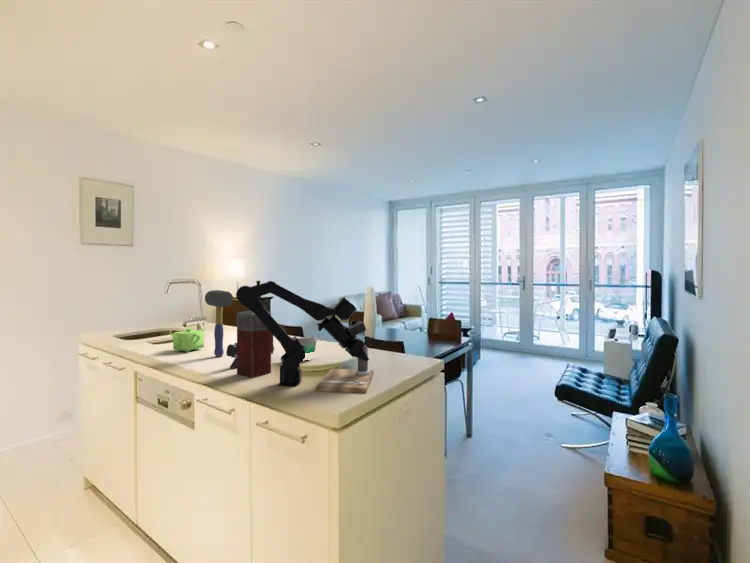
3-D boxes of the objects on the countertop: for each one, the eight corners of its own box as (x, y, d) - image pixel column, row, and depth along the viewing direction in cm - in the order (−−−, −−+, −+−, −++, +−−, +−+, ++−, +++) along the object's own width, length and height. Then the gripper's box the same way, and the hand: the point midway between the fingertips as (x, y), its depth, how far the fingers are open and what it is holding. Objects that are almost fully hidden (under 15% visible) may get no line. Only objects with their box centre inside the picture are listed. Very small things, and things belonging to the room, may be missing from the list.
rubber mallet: (234, 356, 176) (234, 290, 175) (219, 359, 169) (219, 291, 169) (218, 353, 183) (218, 289, 182) (203, 356, 177) (203, 290, 176)
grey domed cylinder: (354, 375, 141) (354, 345, 140) (356, 371, 146) (356, 342, 145) (368, 375, 140) (369, 345, 140) (370, 372, 145) (370, 343, 145)
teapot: (169, 354, 180) (169, 331, 180) (172, 349, 192) (172, 327, 192) (205, 352, 186) (205, 329, 185) (206, 346, 198) (206, 326, 198)
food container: (290, 362, 166) (290, 339, 165) (289, 359, 171) (289, 336, 171) (319, 361, 169) (319, 338, 169) (317, 358, 175) (317, 335, 175)
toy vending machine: (275, 371, 151) (276, 299, 150) (252, 377, 141) (252, 300, 141) (260, 368, 156) (260, 298, 155) (236, 374, 146) (236, 299, 146)
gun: (221, 367, 152) (226, 341, 153) (267, 368, 173) (271, 345, 175) (226, 368, 150) (231, 342, 152) (271, 369, 172) (275, 346, 174)
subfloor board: (316, 390, 127) (316, 385, 127) (331, 372, 150) (331, 368, 150) (366, 392, 125) (366, 387, 125) (373, 374, 148) (373, 369, 148)
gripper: (359, 316, 132) (389, 347, 136) (346, 311, 150) (374, 338, 154) (336, 341, 130) (367, 371, 134) (326, 332, 148) (354, 359, 151)
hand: (366, 359), depth 143 cm, fingers closed on grey domed cylinder, 4 cm apart
